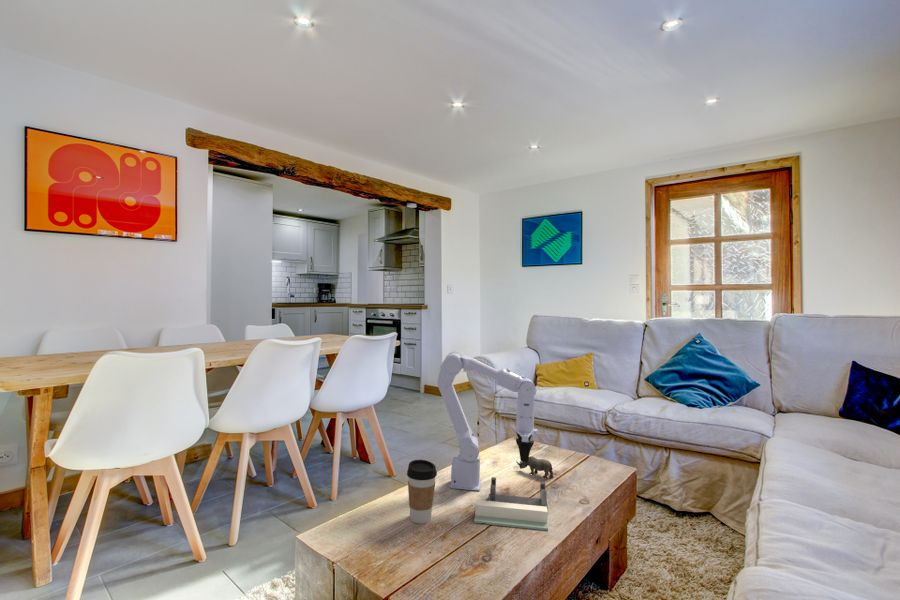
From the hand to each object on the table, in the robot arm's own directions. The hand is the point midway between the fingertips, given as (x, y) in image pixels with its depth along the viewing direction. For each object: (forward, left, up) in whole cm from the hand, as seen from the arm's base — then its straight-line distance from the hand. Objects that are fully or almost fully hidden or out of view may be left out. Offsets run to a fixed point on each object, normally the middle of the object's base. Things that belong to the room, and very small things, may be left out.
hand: (524, 457), depth 141 cm
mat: (-4, -20, -10) cm, 23 cm away
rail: (-4, -20, -10) cm, 23 cm away
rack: (-2, -11, -10) cm, 15 cm away
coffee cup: (-29, -25, -11) cm, 40 cm away
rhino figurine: (+4, +13, -11) cm, 18 cm away
